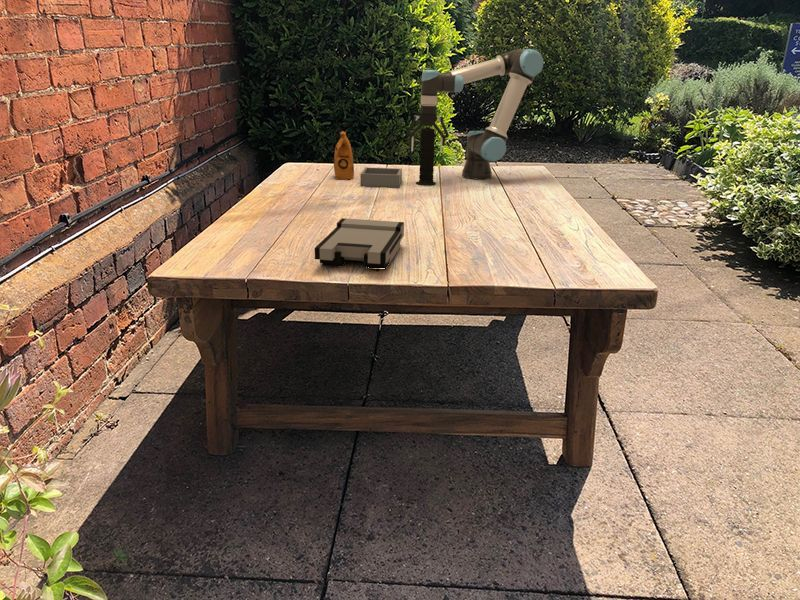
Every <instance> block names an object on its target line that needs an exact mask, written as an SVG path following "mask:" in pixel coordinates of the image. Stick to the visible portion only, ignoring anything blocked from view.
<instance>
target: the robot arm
mask: <svg viewBox="0 0 800 600" xmlns="http://www.w3.org/2000/svg"><path fill="white" fill-rule="evenodd" d="M543 68H544V59H543V56H542V54H541V53H540V52H539V51H538V50H536V49H532V48H518V49H513V50H511V51H507V52H506V53H502V54H499V55H496V57H495V58H493V59H490V60H486V61H481V62H477V63H475V64H472V65H468V66H464V67H459V68H457V69H456V68H455V69H452V70H449V71H446V72H442V73H440V72H439V70H437V69H423V71H422V75H421V80H420V81H421V91H420V92H421V93H420V104H421V105H420V109H419V110H420V112H419V115H416V114H415V115H413V118H412V121H411V122H410V125H409V127H408V129H407V131H406V132H405V136H408V138H409V139H408V143H409V145H410V146H411V148H410V149H411V152H413V151H414V143H415V142H414V139H415V138H414V137H415V136H414V135H415V134H416V132H417V131H419V129H421V128H422V126H424V127H433V128H435V131H437V133H438V134H439V135H440V137H441V138H440V149H439V150H440V151H439V153H440V154H442V152H443V146H445V145H446V139H447V138H449V137H450V134H449V132H448V129H447V128H446V125H445V121H444V116H442V115H441V116H437V113H438V107H437V105H438V95H439V93H461V92H463V89H464V87H465V86H464V85H465V84H470V83H472V82H477V81H480V80H483V79H487V78H491V77H494V76H495V77H496V76H501V77H503V76H506V75H509V77H510V79H509V81H508V83H507V85H506V88H505V90H504V92H503V95H502V97H501V99H500V102H499V104H498V106H497V109H496V111H495V112H494V113H495V114H494V116H493V118H492V120H491V122H490V125H489V126H487V127H485V129H484V130H470V131H469V132H467V138H466V141H467V142H466V161H465V163H464V166H463V168H462V171H461V177H462V176H464V177H463V178H465V177H469V178H468V179H470V178H477V179H476V180H487V178H489V179H491V177H492V176H493V173H492V168H491V164H490V162H497V161H499V160H501V159H502V158H503V157H504V155H505V154H506V152H507V140H508V135H507V132H508V130H509V127H510V125H511V124H512V123H511V122H513V118H514V116H515V114H516V111H517V110H518V107H519V106H520V105H519V104H520V103H521V100H522V98H523V96H524V93H525V91H526V88H527V86H528V85H530V84H532V83H533V80H534V79H535V77H536V76H537V75H539V74H541V72H542V69H543ZM418 120H419V121H420V123H419V124H418V125H417V126H416V127H415V128H414V130H412V129H413V127H414V125H415V122H416V121H418ZM437 121H438V122H440V124H441V127H442V129H443V131H442V130H441V128H439V125H437V123H436V122H437ZM410 132H411V133H410ZM443 132H444V133H443Z"/></svg>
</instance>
